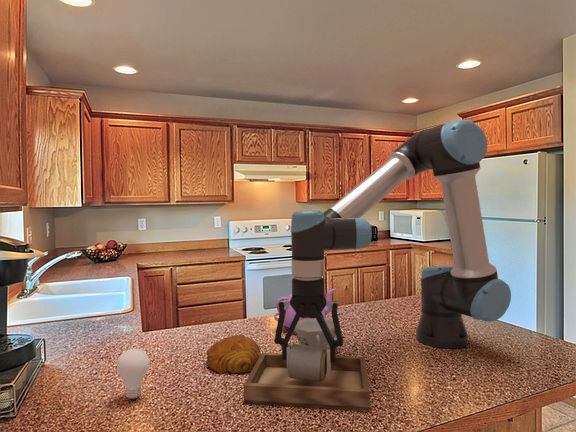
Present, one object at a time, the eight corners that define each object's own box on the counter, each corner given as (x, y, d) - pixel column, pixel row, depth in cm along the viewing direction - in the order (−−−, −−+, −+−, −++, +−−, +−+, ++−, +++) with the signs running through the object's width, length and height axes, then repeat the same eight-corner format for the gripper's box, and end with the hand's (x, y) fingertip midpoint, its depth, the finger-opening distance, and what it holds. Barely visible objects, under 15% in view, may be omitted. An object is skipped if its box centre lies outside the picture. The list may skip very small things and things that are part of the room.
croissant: (256, 358, 112) (256, 330, 113) (263, 373, 97) (263, 341, 98) (206, 362, 110) (206, 333, 111) (205, 377, 94) (206, 344, 95)
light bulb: (123, 392, 88) (122, 344, 88) (153, 390, 89) (152, 343, 88) (112, 407, 81) (111, 355, 81) (144, 405, 82) (143, 354, 82)
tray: (364, 372, 97) (364, 357, 96) (369, 411, 78) (369, 392, 78) (262, 368, 100) (261, 352, 100) (243, 403, 82) (243, 385, 82)
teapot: (330, 320, 142) (329, 283, 142) (343, 333, 127) (343, 292, 127) (271, 324, 138) (270, 286, 138) (277, 338, 123) (277, 295, 123)
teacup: (293, 343, 119) (293, 317, 118) (334, 342, 119) (333, 316, 119) (295, 362, 104) (294, 333, 103) (341, 361, 104) (341, 332, 104)
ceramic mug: (323, 387, 84) (323, 352, 84) (287, 383, 86) (287, 349, 86) (330, 369, 94) (330, 337, 94) (298, 365, 97) (298, 335, 97)
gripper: (354, 275, 91) (354, 369, 91) (266, 273, 94) (267, 365, 95) (355, 281, 84) (355, 384, 84) (259, 279, 87) (260, 379, 87)
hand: (309, 374), depth 89 cm, fingers closed on ceramic mug, 8 cm apart
